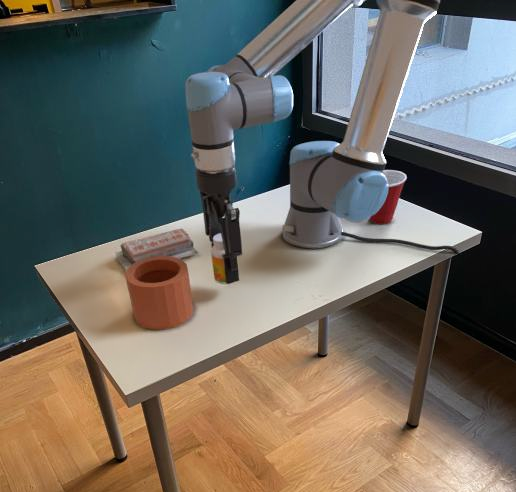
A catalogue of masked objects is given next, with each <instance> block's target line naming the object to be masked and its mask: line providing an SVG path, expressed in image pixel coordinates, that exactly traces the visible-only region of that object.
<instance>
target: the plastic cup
mask: <svg viewBox="0 0 516 492" xmlns="http://www.w3.org/2000/svg"><path fill="white" fill-rule="evenodd" d="M383 175H384V176H385V177H386V179H387V184H388V194H387V197H386V200H385V202H384V204H383V205H382V207H381V208H380V209H379V211H378V212H377V213H376V214H374V215H372V216H371V217H370V218H369V220H370V222H371V223H374V224H377V225H387V224H390V223H391V222H392V220H393V218H394V215H395V212H396V210H397V208H398V207H397V206H398V203H399V200H400V197H401V193H402V191H403V187H404V185H405V182H406V181H407V178H408V177H407V174H406V173H404V172H403V171H399V170H394V169H384V171H383Z"/></svg>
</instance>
